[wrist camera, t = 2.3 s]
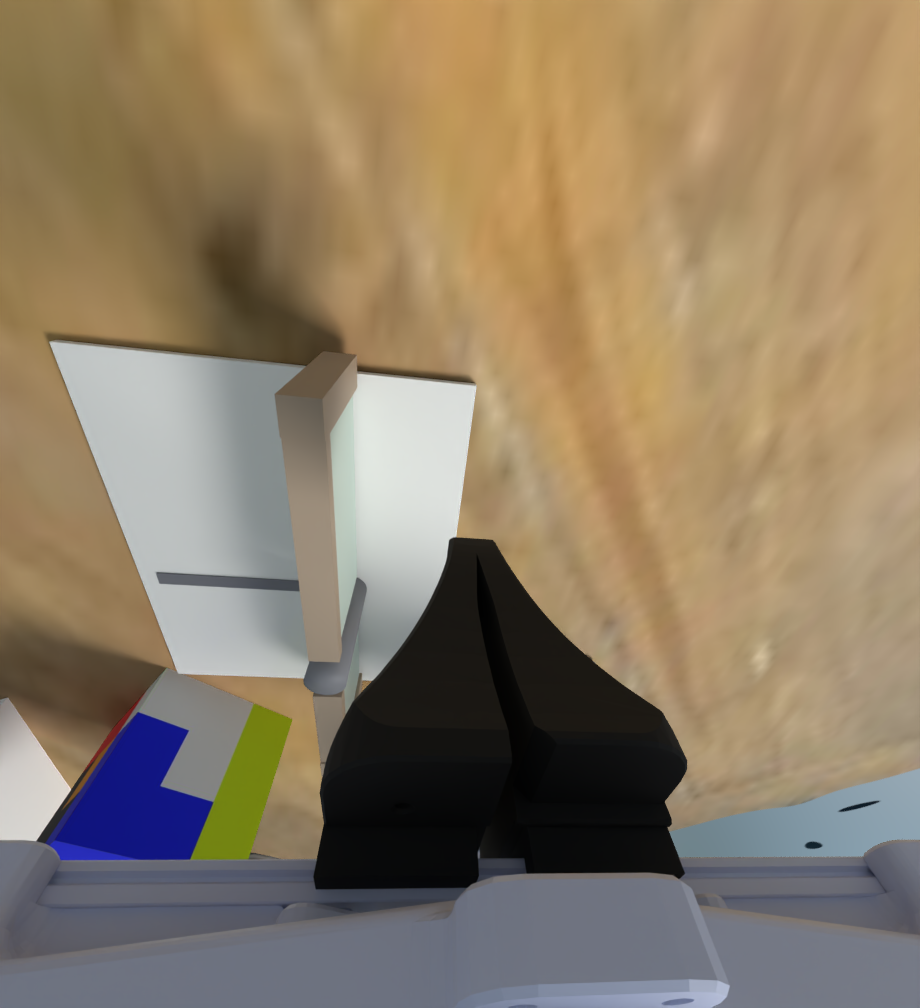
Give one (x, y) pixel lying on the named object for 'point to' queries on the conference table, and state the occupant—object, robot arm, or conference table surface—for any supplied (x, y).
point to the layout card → (264, 499)
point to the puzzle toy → (174, 779)
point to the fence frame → (337, 678)
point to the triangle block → (25, 780)
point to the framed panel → (322, 494)
